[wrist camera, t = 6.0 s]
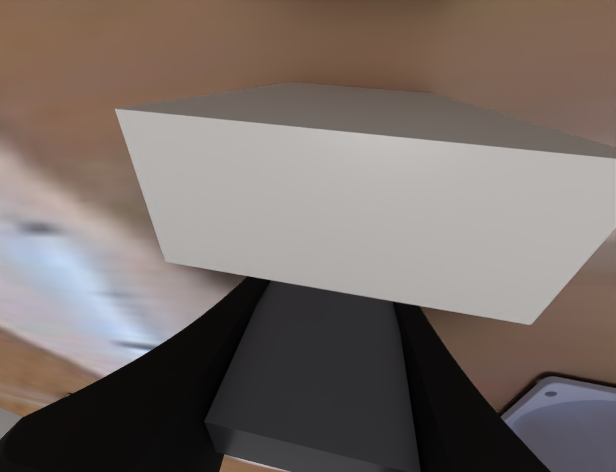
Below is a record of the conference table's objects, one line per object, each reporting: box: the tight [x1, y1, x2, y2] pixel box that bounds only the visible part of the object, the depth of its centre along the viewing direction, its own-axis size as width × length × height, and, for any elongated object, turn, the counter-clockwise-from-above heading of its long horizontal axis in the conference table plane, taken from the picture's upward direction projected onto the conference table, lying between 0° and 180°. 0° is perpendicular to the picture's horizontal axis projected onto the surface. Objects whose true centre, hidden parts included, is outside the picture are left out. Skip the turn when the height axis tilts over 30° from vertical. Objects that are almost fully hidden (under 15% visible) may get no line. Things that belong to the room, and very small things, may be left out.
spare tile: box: [204, 280, 421, 472], centre depth 8 cm, size 2×4×7 cm, turn 87°
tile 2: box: [115, 82, 616, 325], centre depth 5 cm, size 2×4×7 cm, turn 87°
